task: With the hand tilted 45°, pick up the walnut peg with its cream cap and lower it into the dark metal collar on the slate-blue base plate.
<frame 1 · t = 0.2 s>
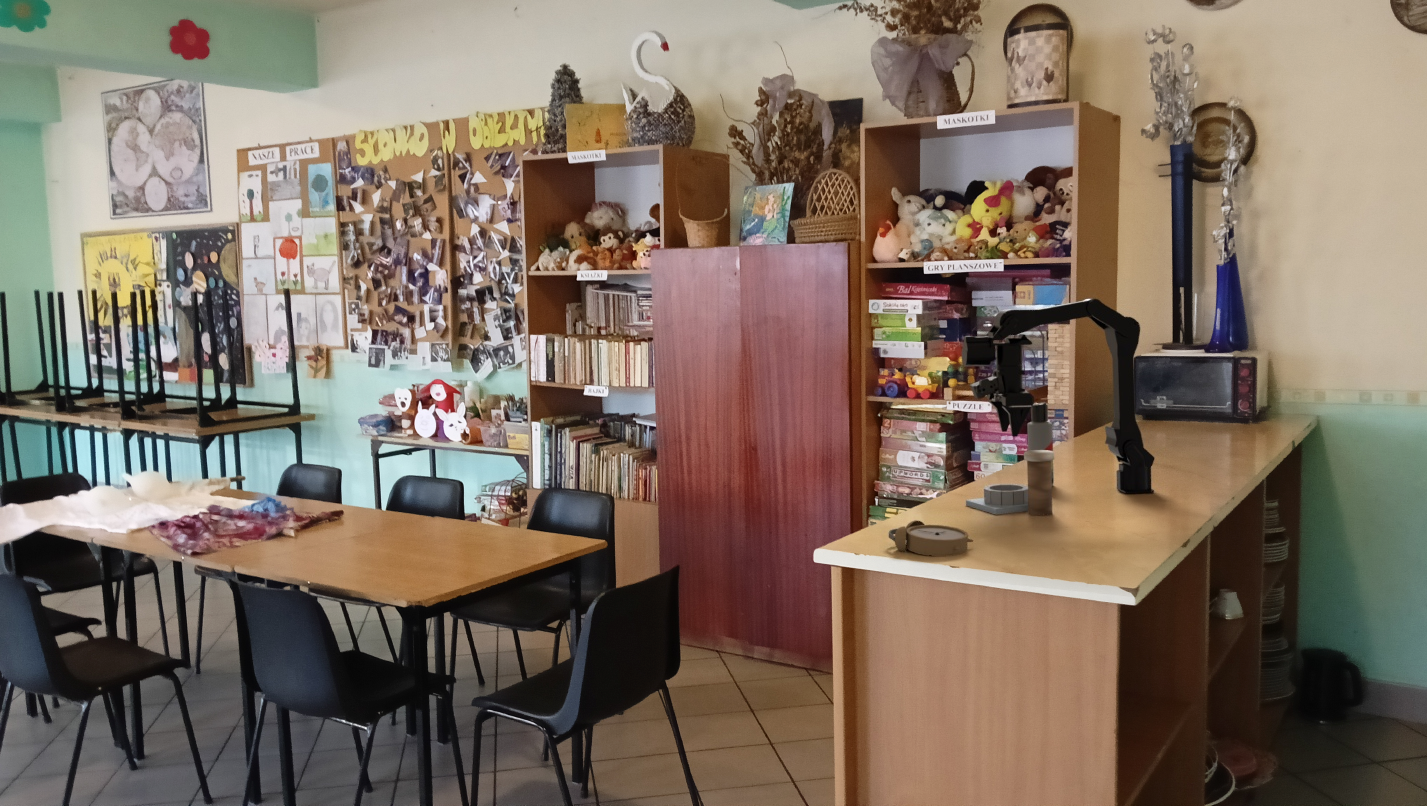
hand: (1009, 434, 242), 14 cm above the table, tool pointing down, fingers open, 9 cm apart
walnut peg: (1040, 513, 225), on the table
alarm clock: (928, 550, 199), on the table
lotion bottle: (1041, 486, 256), on the table
collar socket: (1006, 506, 233), on the table
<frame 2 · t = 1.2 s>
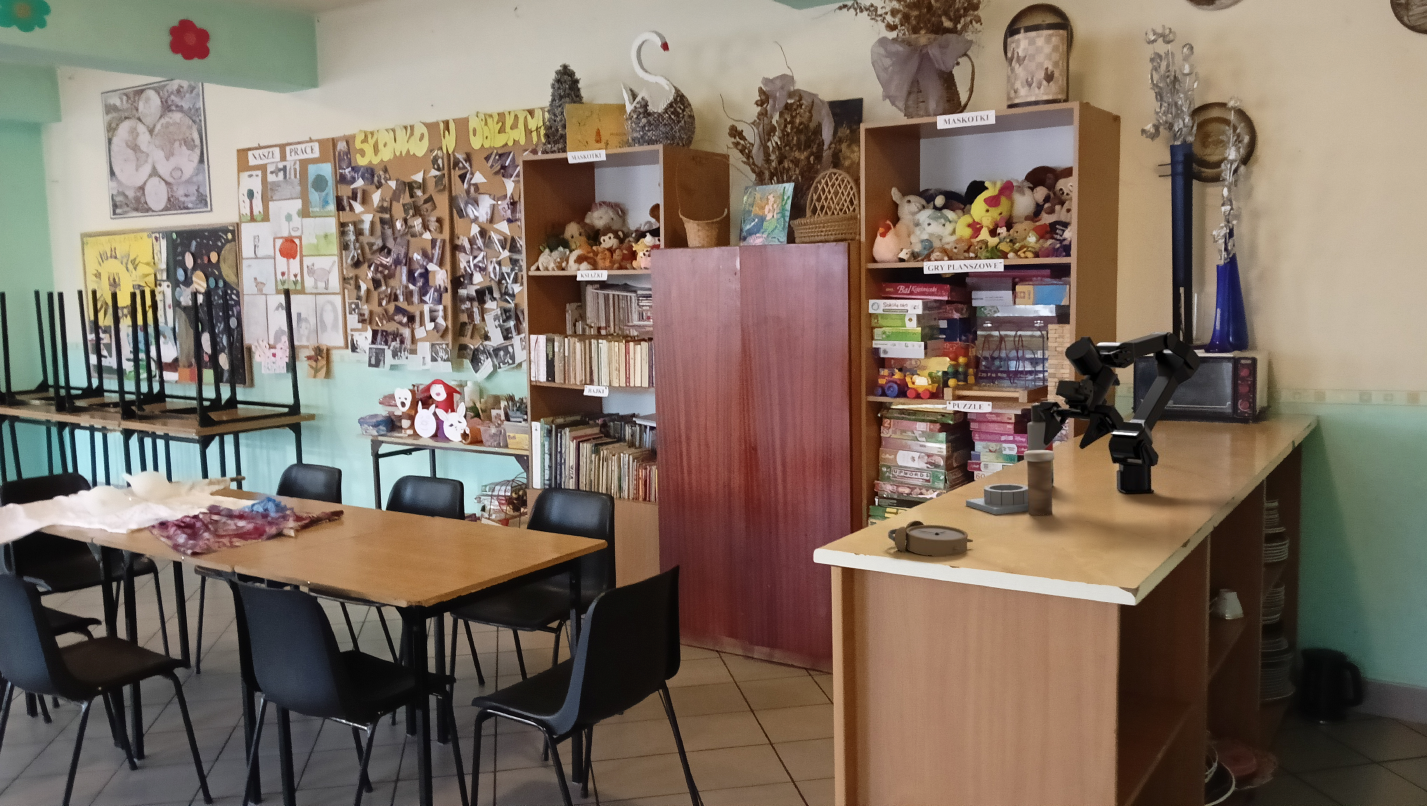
hand: (1062, 446, 228), 13 cm above the table, tool tilted 45°, fingers open, 9 cm apart
nothing on the table moved.
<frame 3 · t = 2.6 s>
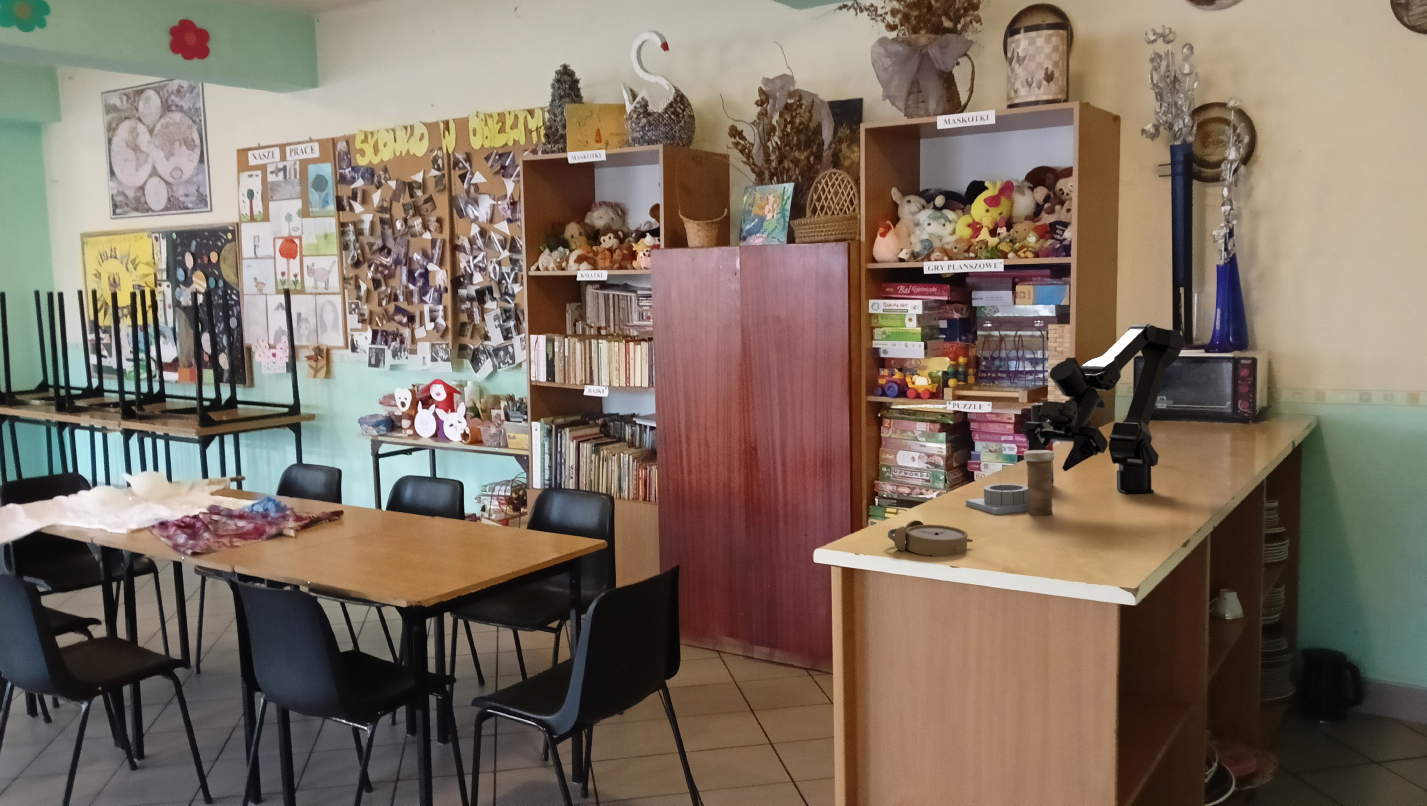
hand: (1045, 467, 225), 9 cm above the table, tool tilted 45°, fingers open, 9 cm apart
nothing on the table moved.
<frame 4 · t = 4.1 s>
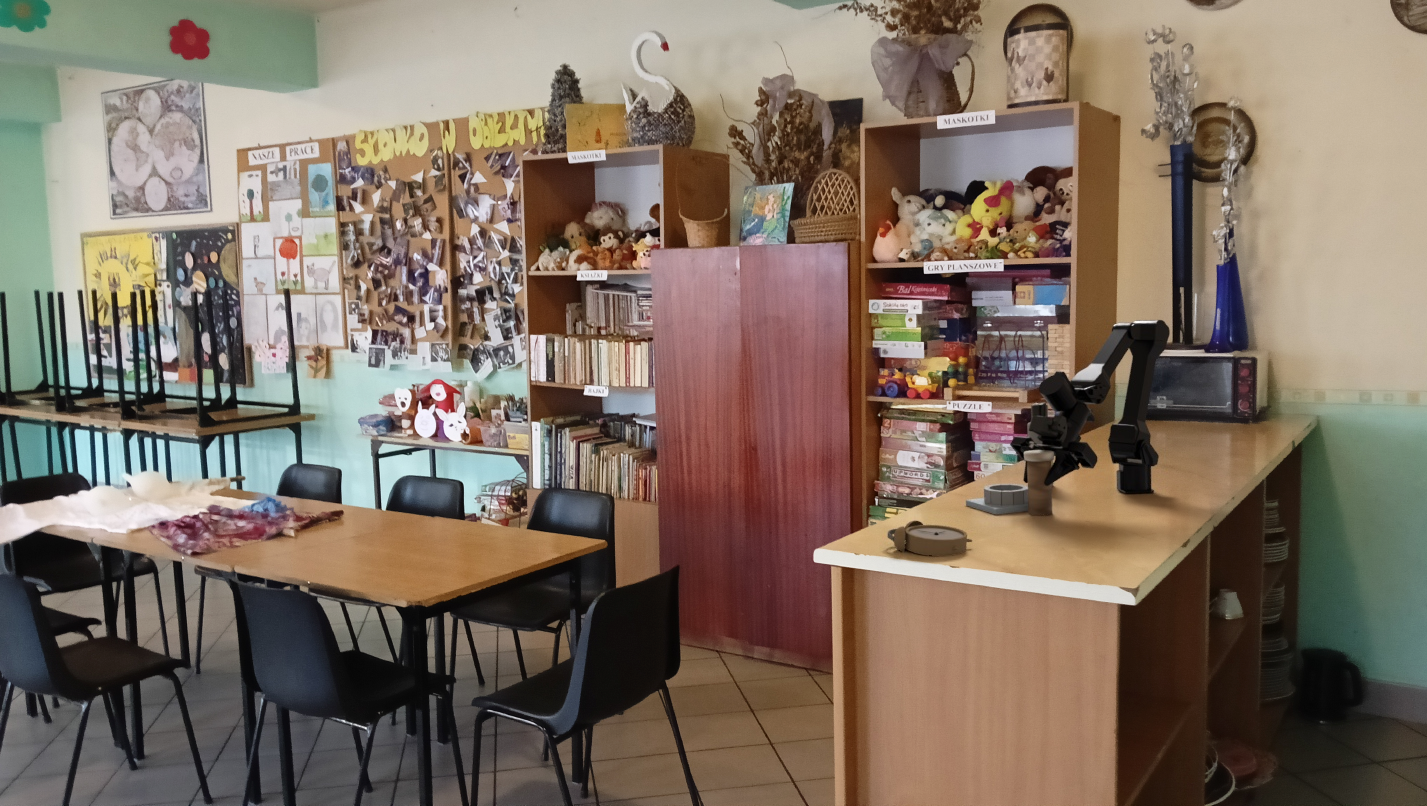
hand: (1035, 483, 223), 7 cm above the table, tool tilted 45°, fingers closed on walnut peg, 5 cm apart
walnut peg: (1040, 513, 225), on the table, touching gripper
everything else where it was.
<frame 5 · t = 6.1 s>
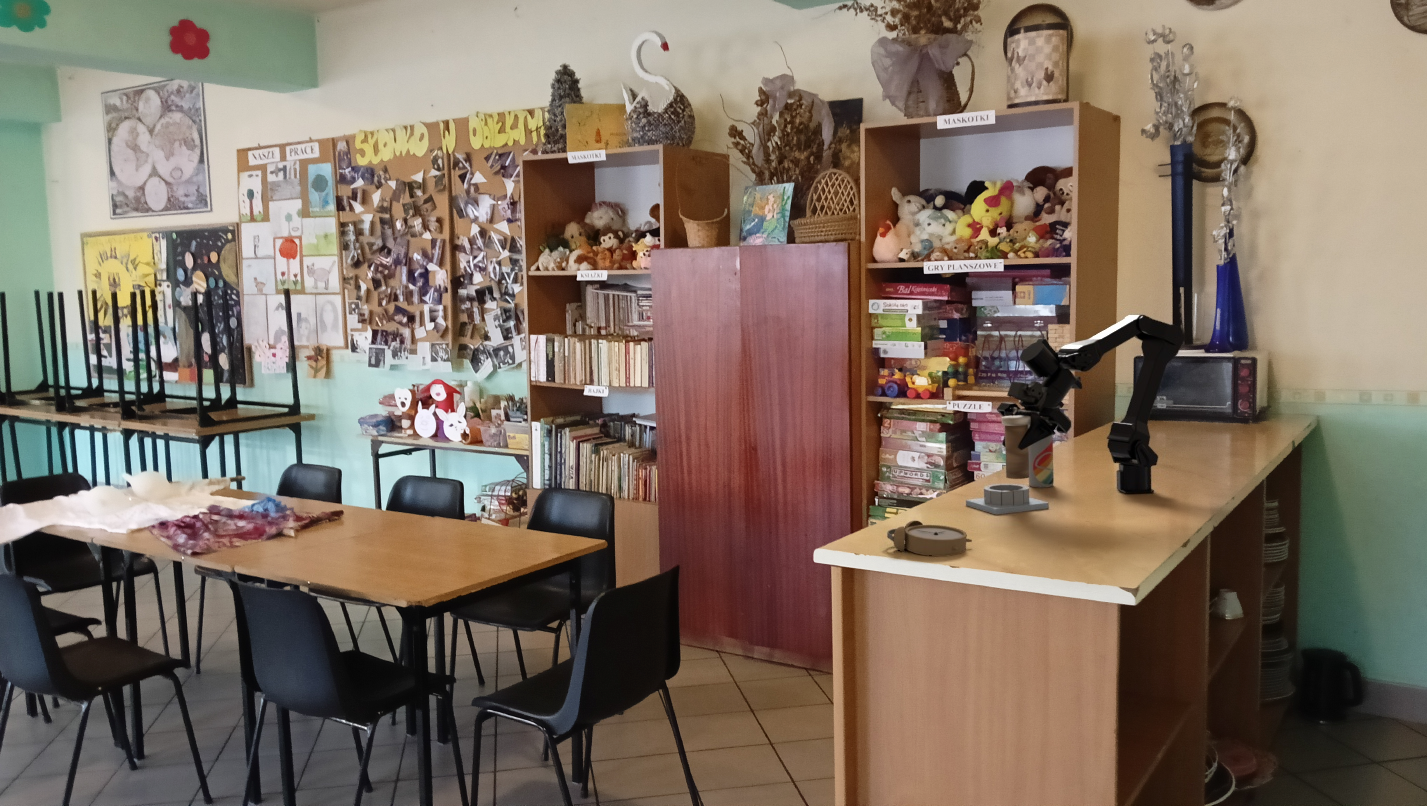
hand: (1011, 447, 229), 13 cm above the table, tool tilted 45°, fingers closed on walnut peg, 5 cm apart
walnut peg: (1017, 477, 230), point 7 cm above the table, touching gripper
everything else where it was.
when the fingers open (9 cm above the table, at t = 8.1 s): walnut peg drops 1 cm, resting on collar socket.
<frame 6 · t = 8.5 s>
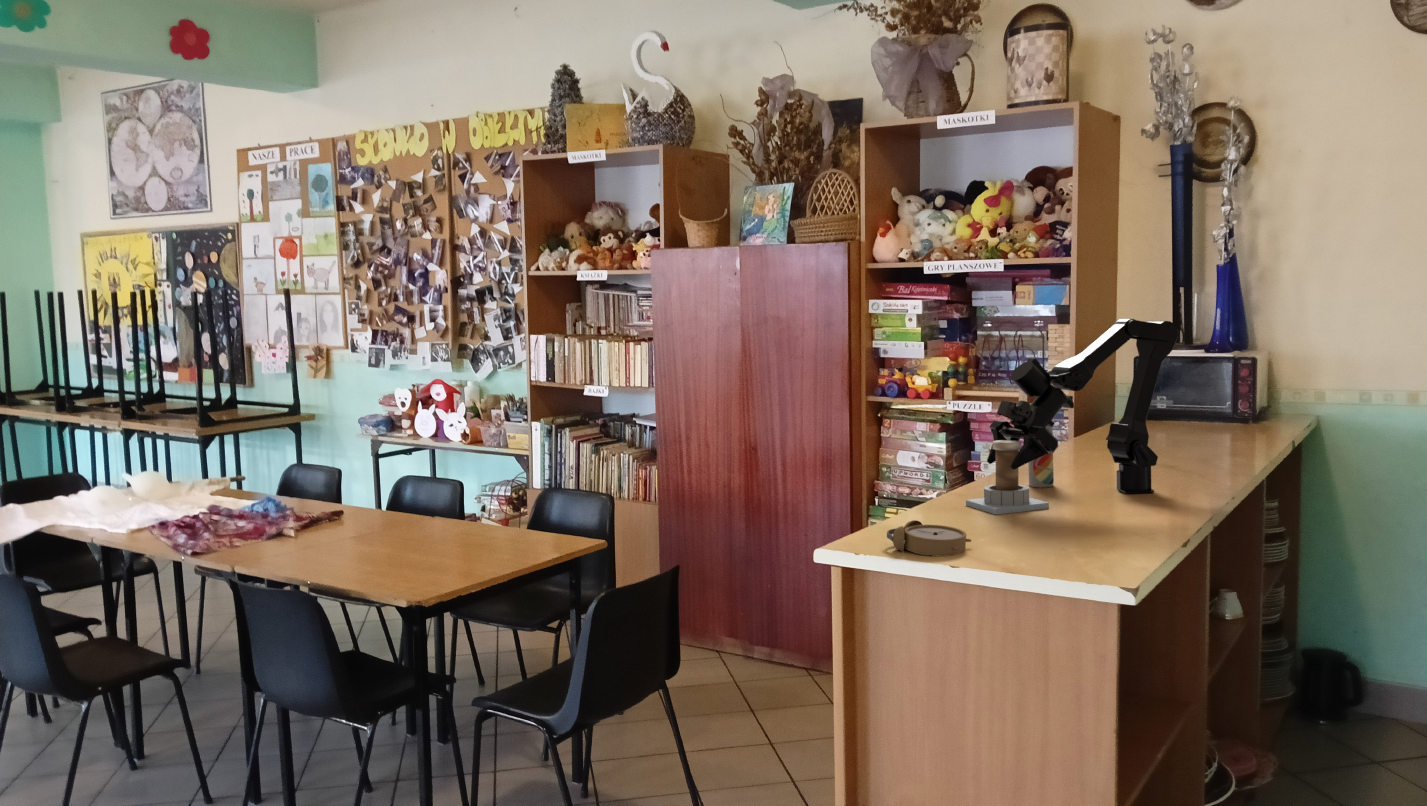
hand: (1000, 465, 232), 9 cm above the table, tool tilted 45°, fingers open, 9 cm apart
walnut peg: (1006, 500, 233), point 1 cm above the table, touching collar socket
everything else where it was.
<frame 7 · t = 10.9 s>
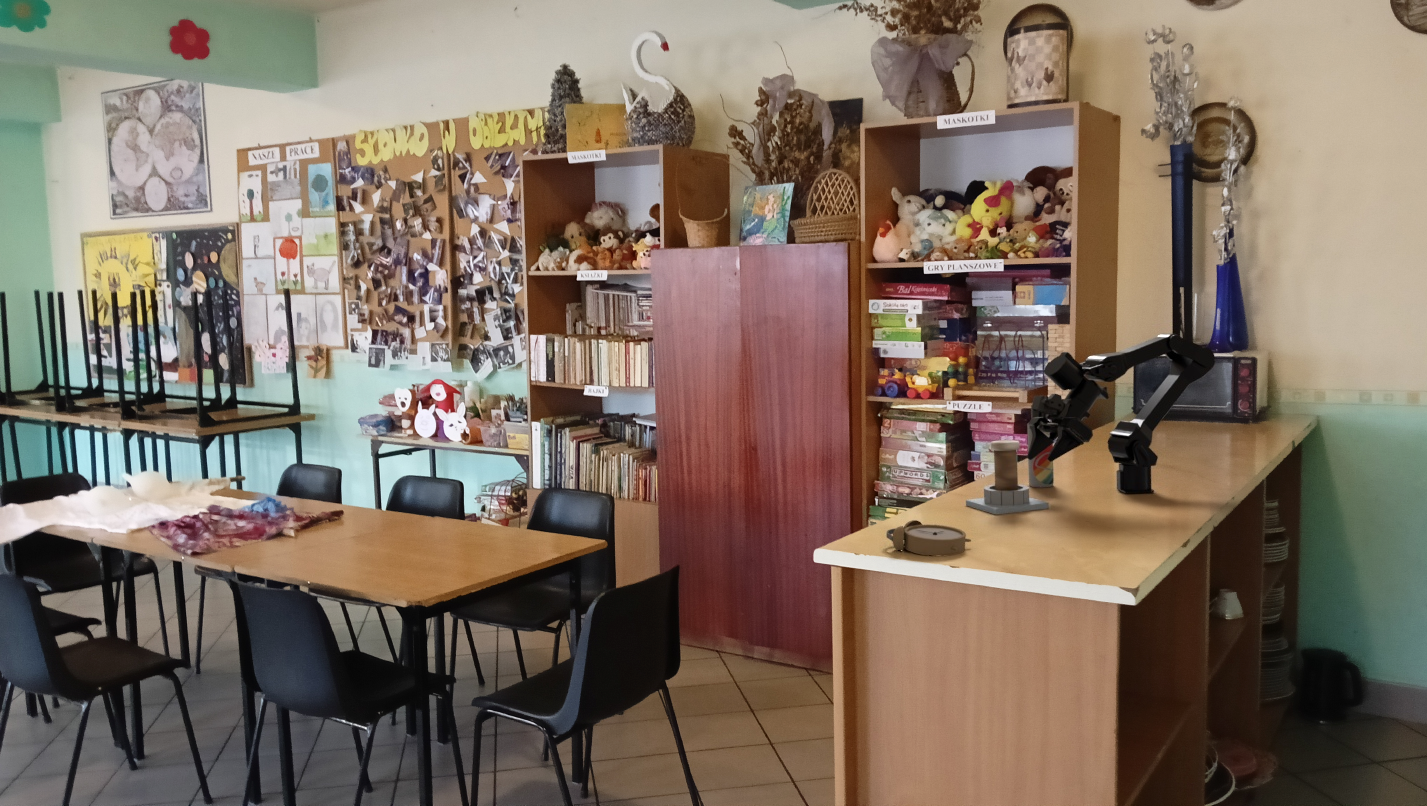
hand: (1038, 459, 235), 10 cm above the table, tool tilted 40°, fingers open, 9 cm apart
nothing on the table moved.
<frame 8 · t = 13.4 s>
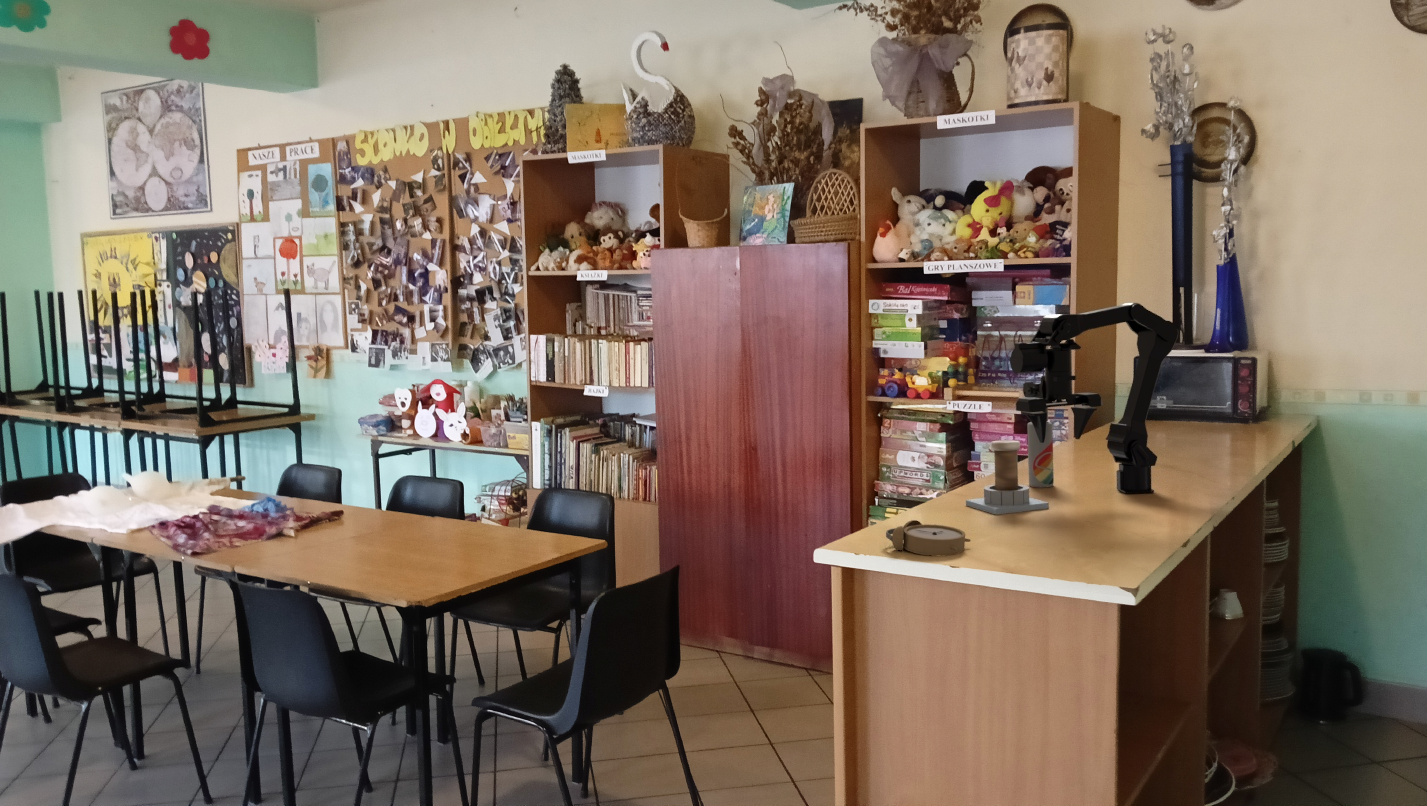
hand: (1059, 441, 238), 13 cm above the table, tool pointing down, fingers open, 9 cm apart
nothing on the table moved.
at the end: walnut peg 0.1 cm off-centre on the collar socket, point 1.2 cm above the collar socket's base; walnut peg tilted 0°; the gripper is holding nothing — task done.
